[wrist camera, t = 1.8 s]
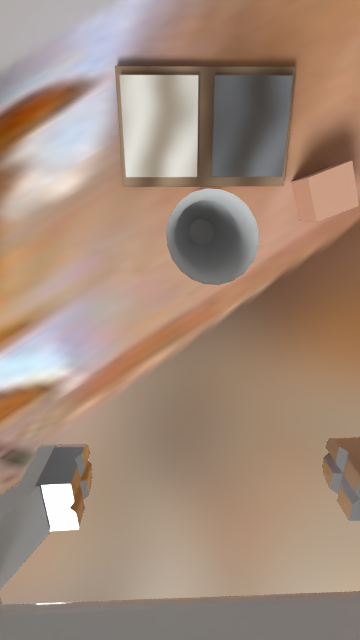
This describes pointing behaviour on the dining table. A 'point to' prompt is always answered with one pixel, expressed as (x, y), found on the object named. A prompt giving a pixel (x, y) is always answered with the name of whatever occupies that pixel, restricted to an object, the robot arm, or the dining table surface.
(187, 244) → the chalice
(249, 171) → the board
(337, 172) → the terracotta cube
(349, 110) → the dining table surface
